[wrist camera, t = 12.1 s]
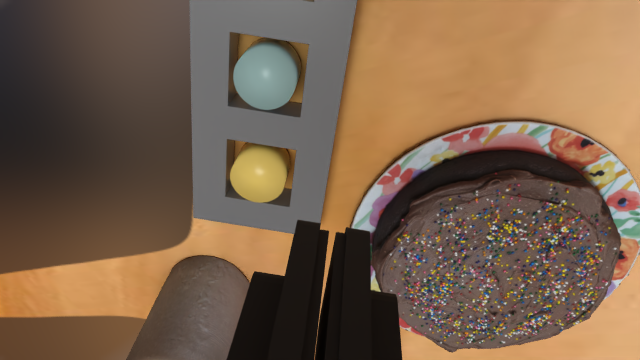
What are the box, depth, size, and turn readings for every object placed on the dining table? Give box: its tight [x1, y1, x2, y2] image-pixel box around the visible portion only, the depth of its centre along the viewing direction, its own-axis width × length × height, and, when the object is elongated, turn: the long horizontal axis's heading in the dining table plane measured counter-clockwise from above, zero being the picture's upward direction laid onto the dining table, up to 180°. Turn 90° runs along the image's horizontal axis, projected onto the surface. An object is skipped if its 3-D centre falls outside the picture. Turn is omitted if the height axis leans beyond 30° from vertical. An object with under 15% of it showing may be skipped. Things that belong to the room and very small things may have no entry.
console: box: [190, 0, 357, 234], centre depth 37 cm, size 12×30×3 cm, turn 172°
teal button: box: [233, 38, 301, 110], centre depth 36 cm, size 5×5×3 cm
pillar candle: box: [126, 256, 250, 360], centre depth 46 cm, size 10×10×15 cm
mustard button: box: [230, 142, 290, 203], centre depth 41 cm, size 5×5×3 cm
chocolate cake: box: [350, 121, 640, 352], centre depth 43 cm, size 28×28×7 cm
